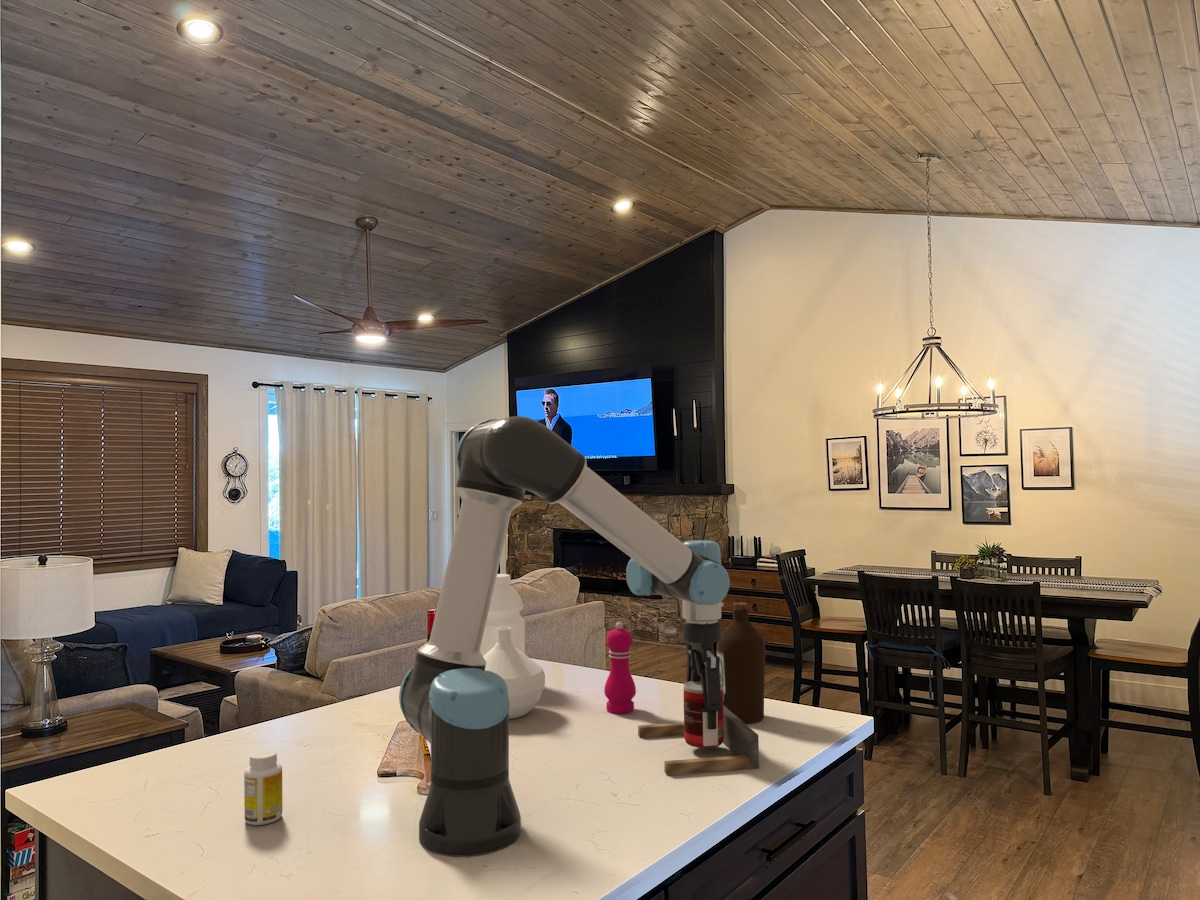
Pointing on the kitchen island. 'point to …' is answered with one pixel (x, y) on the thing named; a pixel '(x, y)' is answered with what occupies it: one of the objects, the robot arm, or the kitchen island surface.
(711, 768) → the guide lane
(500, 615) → the bottle
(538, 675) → the vase
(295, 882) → the kitchen island surface
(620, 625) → the pepper mill
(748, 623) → the olive oil
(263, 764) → the supplement bottle
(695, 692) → the canned food
